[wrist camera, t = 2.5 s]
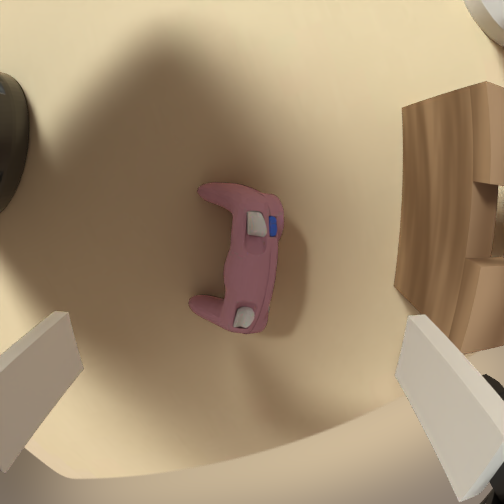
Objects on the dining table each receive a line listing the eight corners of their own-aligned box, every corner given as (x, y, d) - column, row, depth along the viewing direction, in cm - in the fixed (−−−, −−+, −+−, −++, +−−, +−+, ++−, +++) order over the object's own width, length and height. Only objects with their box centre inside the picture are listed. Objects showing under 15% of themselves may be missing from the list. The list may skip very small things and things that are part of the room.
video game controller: (238, 303, 26) (280, 348, 20) (184, 307, 24) (213, 358, 18) (253, 182, 24) (306, 196, 18) (194, 177, 22) (231, 189, 16)
